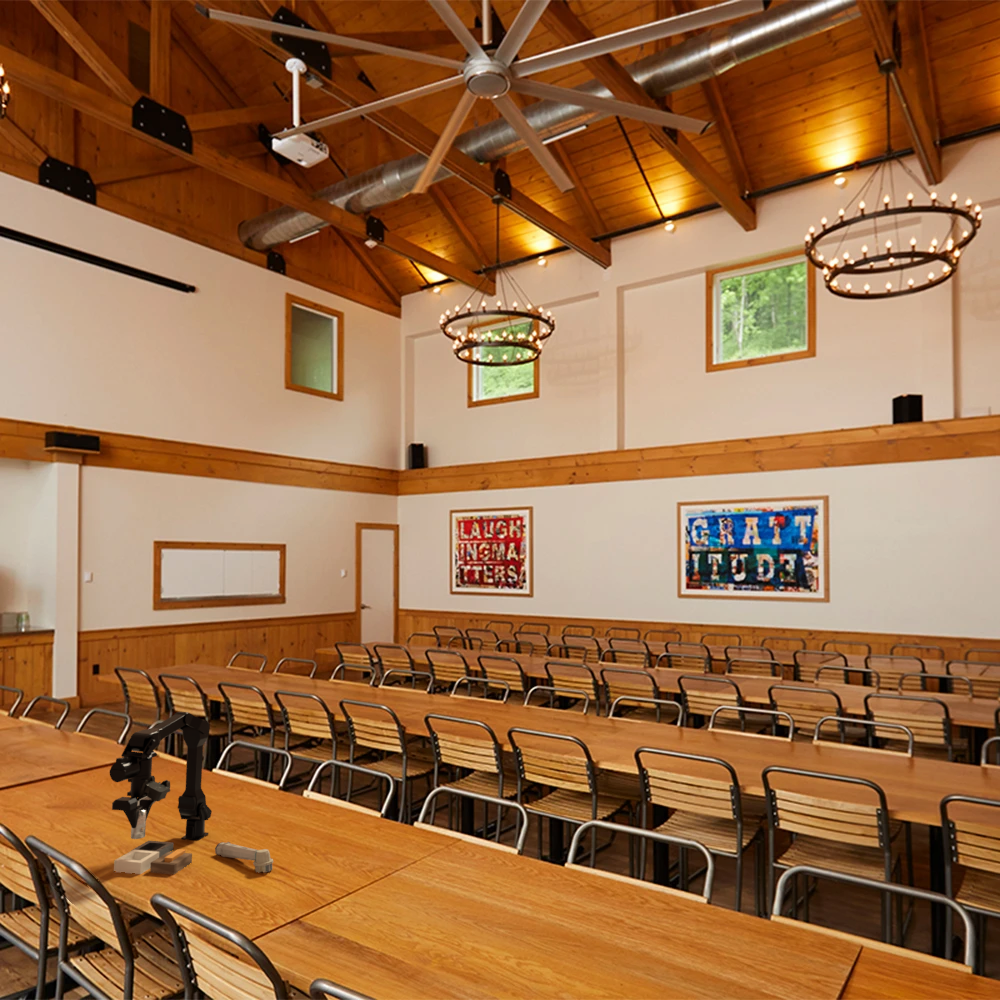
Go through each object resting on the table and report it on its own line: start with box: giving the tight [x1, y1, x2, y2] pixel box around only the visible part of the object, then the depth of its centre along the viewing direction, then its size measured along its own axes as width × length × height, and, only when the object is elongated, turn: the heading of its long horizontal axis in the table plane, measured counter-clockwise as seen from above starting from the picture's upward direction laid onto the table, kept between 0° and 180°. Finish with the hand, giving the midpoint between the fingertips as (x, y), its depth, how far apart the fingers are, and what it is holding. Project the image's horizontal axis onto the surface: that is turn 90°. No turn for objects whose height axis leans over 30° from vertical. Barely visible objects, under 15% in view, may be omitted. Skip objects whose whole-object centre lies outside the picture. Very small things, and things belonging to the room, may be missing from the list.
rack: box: [113, 849, 159, 875], centre depth 238 cm, size 9×9×4 cm
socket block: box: [130, 840, 174, 857], centre depth 248 cm, size 9×9×2 cm
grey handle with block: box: [214, 841, 274, 874], centre depth 242 cm, size 5×7×25 cm
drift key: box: [165, 848, 186, 863], centre depth 239 cm, size 7×2×4 cm, turn 169°
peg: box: [130, 808, 147, 840], centre depth 239 cm, size 4×4×8 cm
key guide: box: [149, 851, 193, 876], centre depth 238 cm, size 9×8×3 cm
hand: (138, 825), depth 239 cm, fingers closed on peg, 4 cm apart
